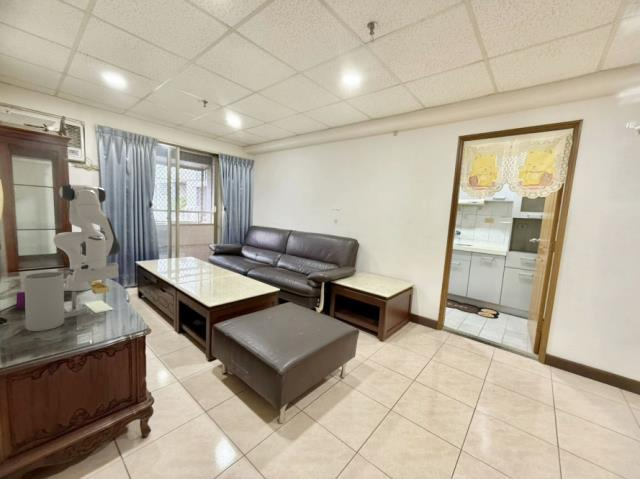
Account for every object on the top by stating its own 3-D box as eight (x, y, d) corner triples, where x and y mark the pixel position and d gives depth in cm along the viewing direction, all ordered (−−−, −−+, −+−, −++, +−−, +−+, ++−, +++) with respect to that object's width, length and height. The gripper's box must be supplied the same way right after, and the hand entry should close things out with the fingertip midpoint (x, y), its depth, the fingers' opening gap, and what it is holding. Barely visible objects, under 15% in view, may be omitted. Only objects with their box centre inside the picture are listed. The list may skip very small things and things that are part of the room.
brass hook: (86, 287, 150) (86, 277, 149) (99, 286, 155) (99, 275, 154) (95, 294, 141) (95, 283, 140) (108, 291, 146) (108, 281, 145)
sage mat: (84, 304, 150) (84, 303, 150) (101, 300, 157) (101, 300, 157) (95, 313, 139) (95, 312, 139) (113, 309, 146) (113, 309, 146)
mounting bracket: (20, 312, 145) (16, 308, 133) (20, 298, 147) (16, 292, 135) (44, 309, 152) (42, 305, 140) (44, 295, 154) (42, 289, 142)
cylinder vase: (23, 326, 120) (21, 274, 118) (59, 318, 131) (58, 270, 128) (29, 334, 114) (28, 280, 111) (68, 325, 124) (67, 275, 122)
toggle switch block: (55, 308, 141) (55, 287, 140) (77, 304, 148) (77, 284, 147) (64, 318, 131) (64, 295, 130) (87, 313, 139) (87, 292, 137)
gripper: (116, 261, 157) (116, 283, 159) (71, 265, 140) (71, 289, 142) (120, 262, 154) (120, 285, 155) (74, 267, 137) (75, 292, 138)
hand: (96, 287), depth 148 cm, fingers closed on brass hook, 3 cm apart
